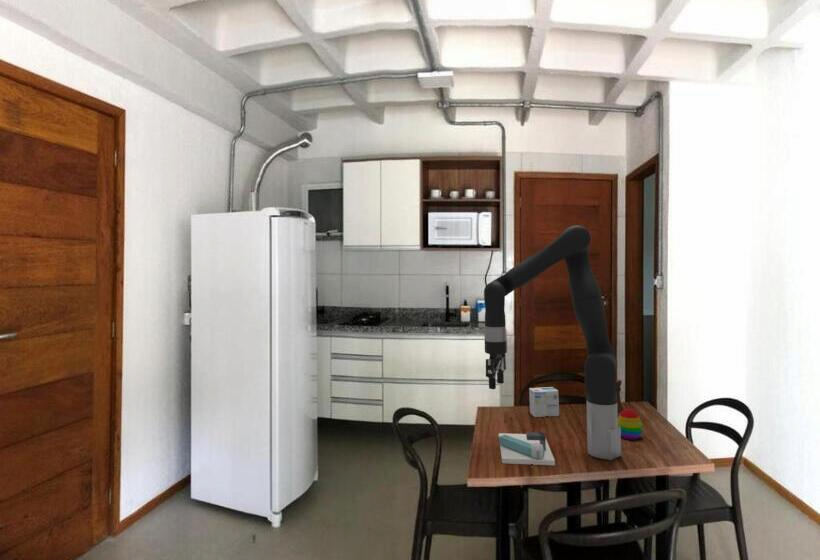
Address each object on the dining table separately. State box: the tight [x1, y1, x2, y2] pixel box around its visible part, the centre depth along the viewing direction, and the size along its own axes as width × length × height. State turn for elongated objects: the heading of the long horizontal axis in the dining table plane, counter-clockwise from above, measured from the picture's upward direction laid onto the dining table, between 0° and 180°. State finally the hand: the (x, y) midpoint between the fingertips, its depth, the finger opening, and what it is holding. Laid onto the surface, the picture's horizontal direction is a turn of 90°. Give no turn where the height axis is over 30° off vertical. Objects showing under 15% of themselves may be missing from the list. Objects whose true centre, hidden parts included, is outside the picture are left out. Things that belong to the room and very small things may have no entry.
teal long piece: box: [498, 435, 544, 459], centre depth 143 cm, size 16×4×4 cm, turn 36°
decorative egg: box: [618, 408, 643, 441], centre depth 156 cm, size 8×8×10 cm
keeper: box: [525, 431, 547, 451], centre depth 144 cm, size 3×6×5 cm, turn 81°
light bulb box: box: [528, 386, 560, 418], centre depth 183 cm, size 11×7×11 cm, turn 94°
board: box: [498, 432, 556, 466], centre depth 147 cm, size 22×16×2 cm
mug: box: [616, 379, 625, 416], centre depth 184 cm, size 18×12×15 cm, turn 17°
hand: (496, 386), depth 151 cm, fingers open, 8 cm apart
